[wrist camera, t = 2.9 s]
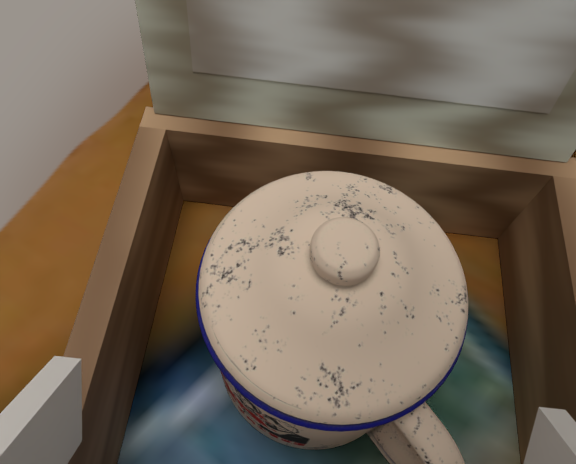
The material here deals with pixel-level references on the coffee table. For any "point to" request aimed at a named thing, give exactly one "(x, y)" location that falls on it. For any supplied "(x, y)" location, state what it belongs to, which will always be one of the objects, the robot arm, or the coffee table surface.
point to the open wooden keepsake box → (349, 158)
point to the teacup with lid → (335, 315)
